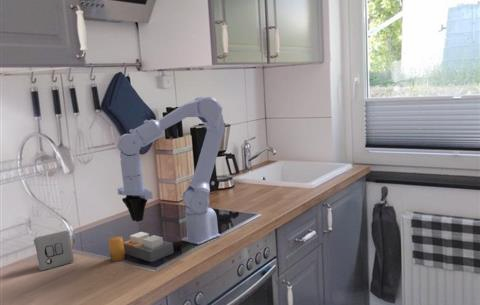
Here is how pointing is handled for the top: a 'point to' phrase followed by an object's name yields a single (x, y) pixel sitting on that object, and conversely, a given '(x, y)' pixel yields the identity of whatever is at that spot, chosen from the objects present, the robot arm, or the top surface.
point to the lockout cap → (116, 248)
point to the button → (153, 242)
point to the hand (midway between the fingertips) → (137, 220)
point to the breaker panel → (148, 251)
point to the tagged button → (138, 237)
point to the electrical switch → (54, 250)
